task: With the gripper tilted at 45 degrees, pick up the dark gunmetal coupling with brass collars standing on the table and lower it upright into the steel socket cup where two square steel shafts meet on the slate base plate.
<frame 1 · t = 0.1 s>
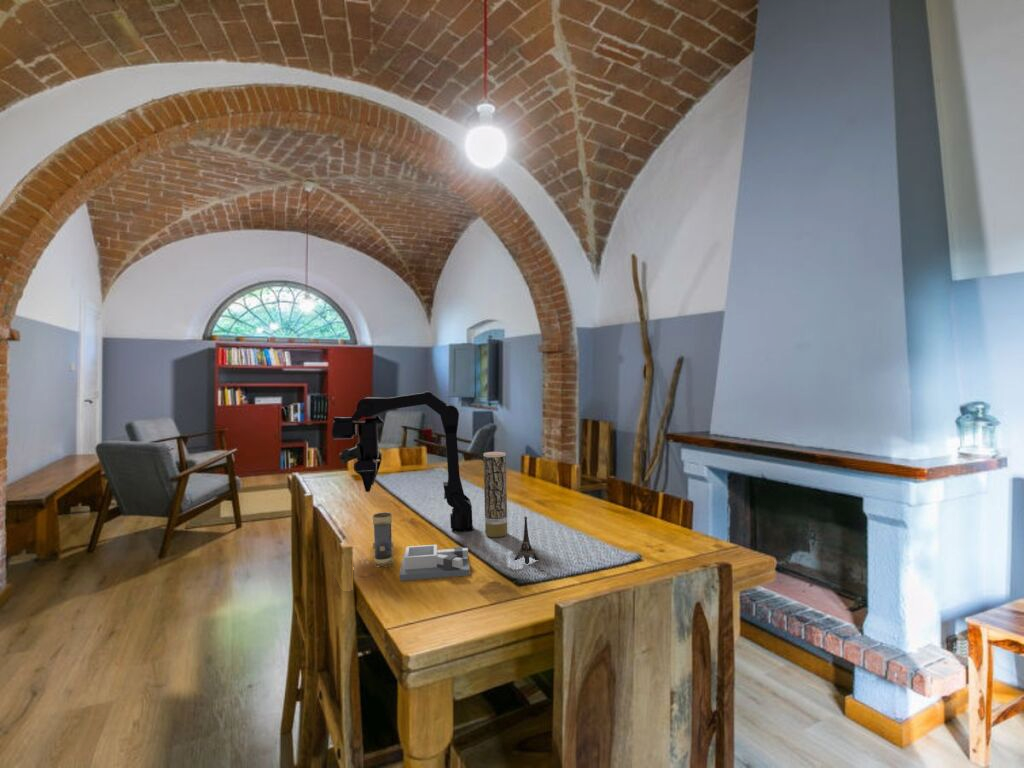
hand: (369, 488, 158), 15 cm above the table, tool pointing down, fingers open, 9 cm apart
eiffel tower figurine: (524, 563, 135), on the table
shaft stand: (421, 568, 131), on the table
brown textured cylinder: (496, 535, 156), on the table
coupling: (383, 563, 135), on the table
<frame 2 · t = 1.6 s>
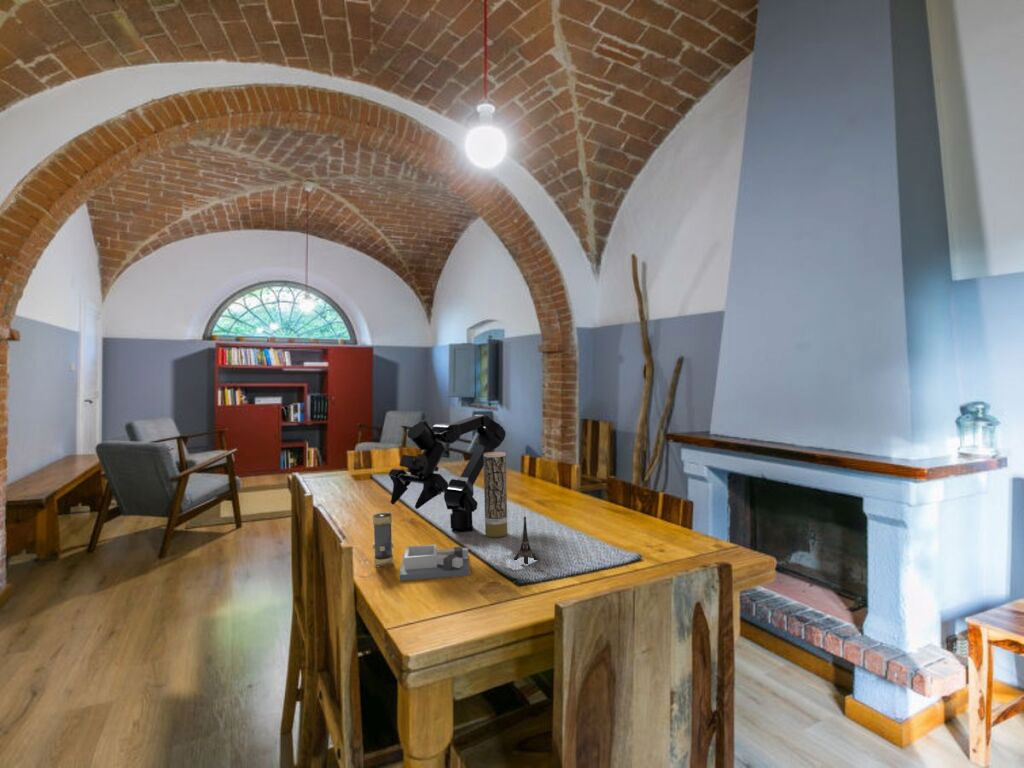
hand: (403, 505, 141), 13 cm above the table, tool tilted 45°, fingers open, 9 cm apart
nothing on the table moved.
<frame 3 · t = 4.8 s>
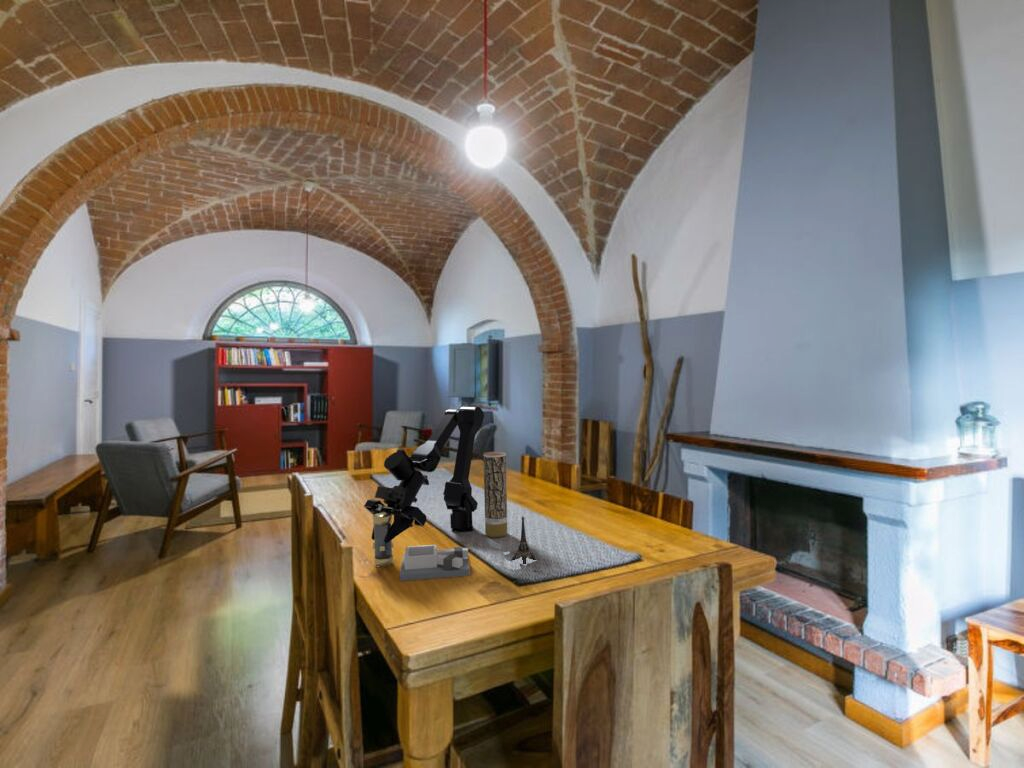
hand: (379, 540, 133), 7 cm above the table, tool tilted 45°, fingers closed on coupling, 4 cm apart
coupling: (383, 563, 135), on the table, touching gripper
when the fingers open (9 cm above the table, at t = 9.2 s): coupling drops 1 cm, resting on shaft stand.
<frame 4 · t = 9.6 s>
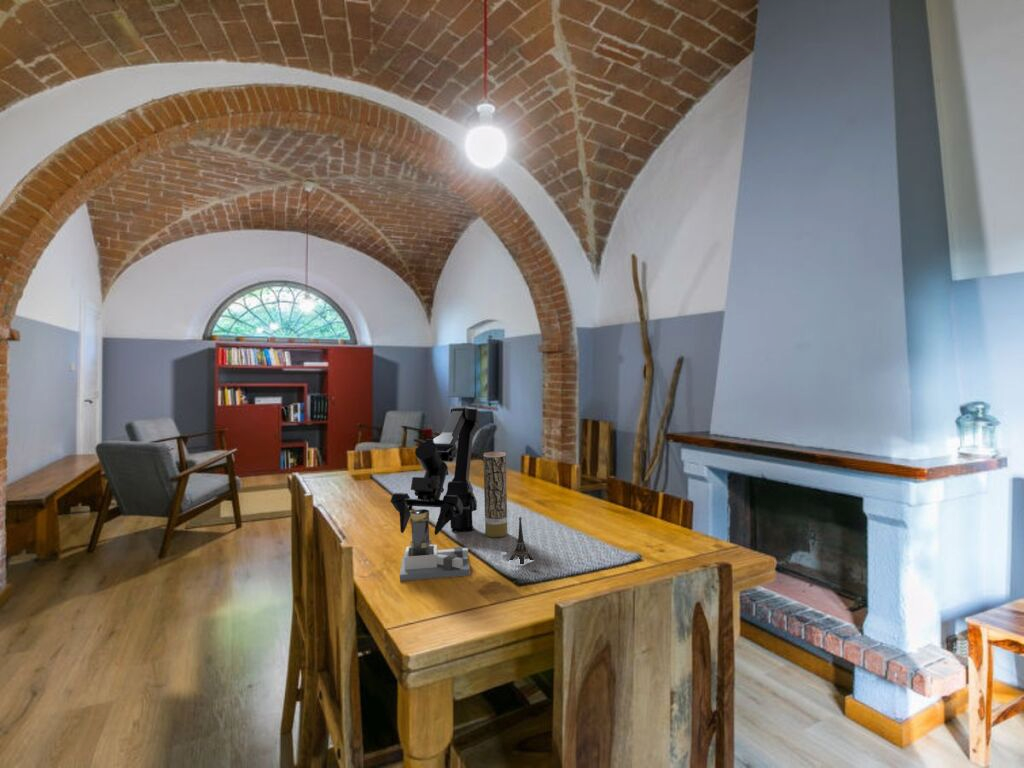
hand: (418, 533, 129), 10 cm above the table, tool tilted 45°, fingers open, 9 cm apart
coupling: (421, 562, 131), point 2 cm above the table, touching shaft stand
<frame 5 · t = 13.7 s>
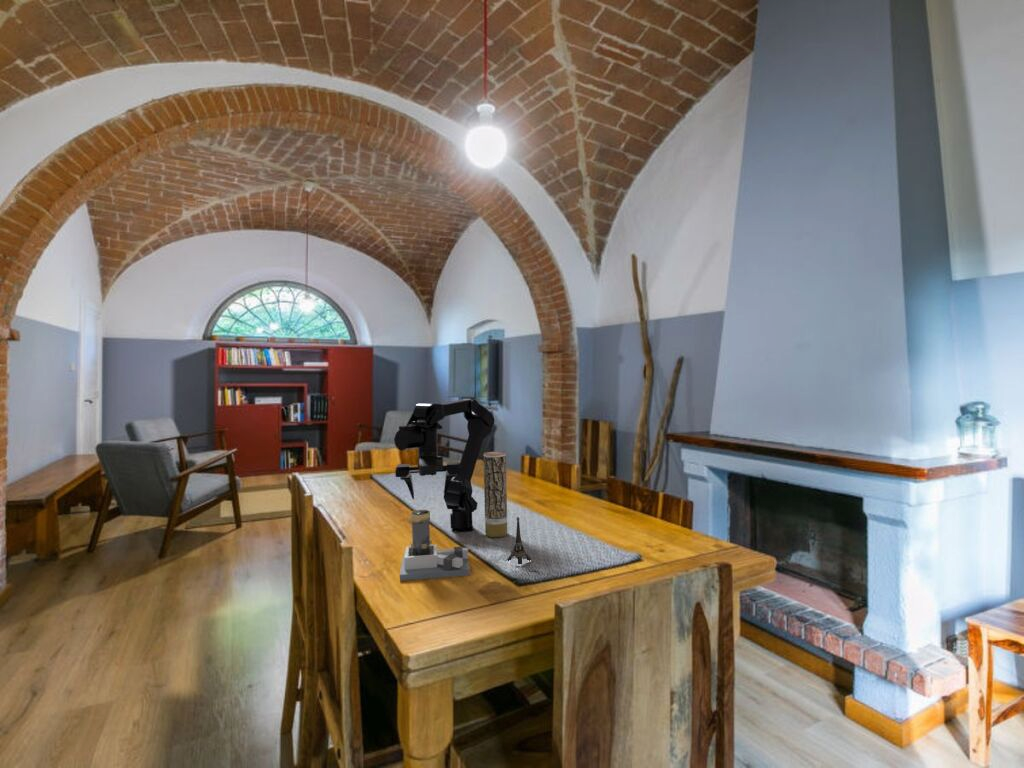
hand: (429, 498, 151), 13 cm above the table, tool pointing down, fingers open, 9 cm apart
at the end: coupling 0.1 cm off-centre on the shaft stand, point 1.5 cm above the shaft stand's base; coupling tilted 0°; the gripper is holding nothing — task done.
